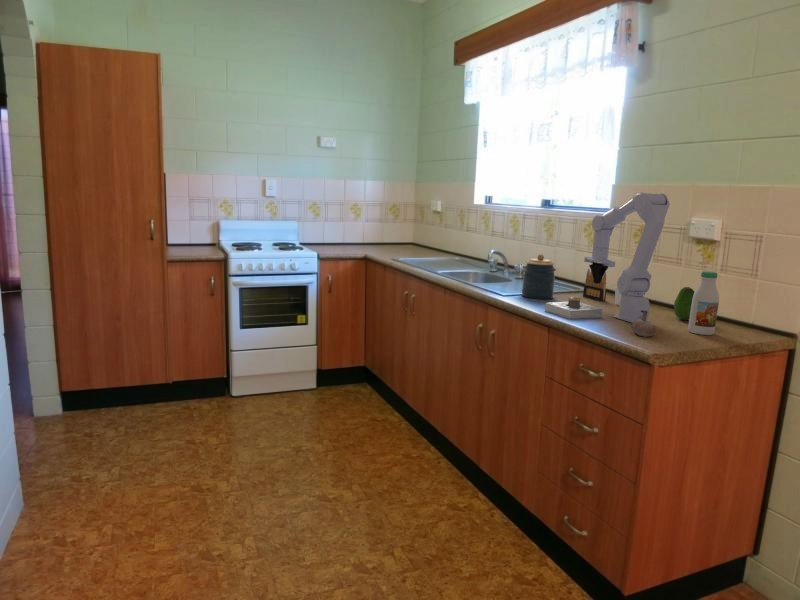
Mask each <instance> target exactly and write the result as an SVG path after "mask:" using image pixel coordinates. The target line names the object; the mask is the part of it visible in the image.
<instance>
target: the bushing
mask: <svg viewBox="0 0 800 600" xmlns="http://www.w3.org/2000/svg"><path fill="white" fill-rule="evenodd" d="M567 302H568V306H569V307H580V303H581V297H579V296H569V297H568V301H567Z"/></svg>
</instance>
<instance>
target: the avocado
mask: <svg viewBox="0 0 800 600" xmlns="http://www.w3.org/2000/svg"><path fill="white" fill-rule="evenodd" d="M694 292H695V290H694V289H693V288H691V287H689V286H684V287H682V288H681V289H680V290H679V292H678V294H677V296H676V298H675V300H674V304H673V309H674V314H675V316H676V317H677V318H678V319H679V320H682V321H689V319H690V312H691V305H692V299H693V295H694Z"/></svg>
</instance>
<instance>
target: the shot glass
mask: <svg viewBox="0 0 800 600" xmlns="http://www.w3.org/2000/svg"><path fill="white" fill-rule="evenodd" d="M614 289H615V290H614V305H616V306H620V300H621V293H620V292H619V290H618V288H617V285H616V286H615V287H614Z"/></svg>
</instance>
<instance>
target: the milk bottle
mask: <svg viewBox="0 0 800 600" xmlns="http://www.w3.org/2000/svg"><path fill="white" fill-rule="evenodd" d="M700 276H701V277H700V283H699V285H697V287H696V288H695V290H694V295H693V299H692V305H691V312H690V319H689V320H688V327H687V330H688V332H689V333H692V334H695V335H702V336H713V335H714V334H715V330H716V325H717V319H718V312H719V306H720V305H719V303H720V295H719V291H718V288H717V284H716V282H717V280H718V273H717V272H716V271H708V270H705V271H701V274H700Z"/></svg>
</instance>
